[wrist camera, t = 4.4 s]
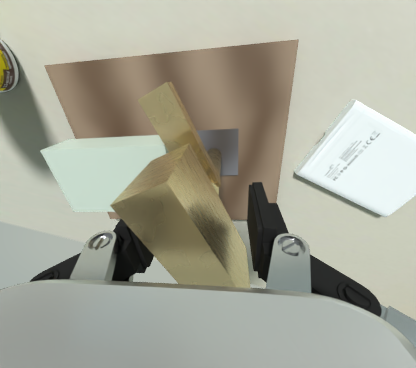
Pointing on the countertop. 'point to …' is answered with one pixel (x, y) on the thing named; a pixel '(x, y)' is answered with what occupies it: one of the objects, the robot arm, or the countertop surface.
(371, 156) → the external hard drive
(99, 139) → the mint green block
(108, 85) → the base
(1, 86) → the supplement bottle
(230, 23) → the countertop surface
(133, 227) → the key
